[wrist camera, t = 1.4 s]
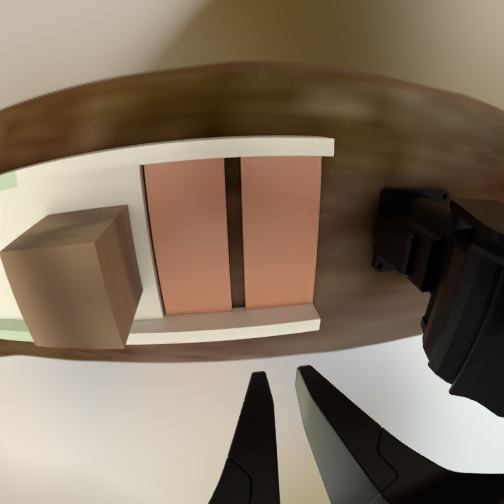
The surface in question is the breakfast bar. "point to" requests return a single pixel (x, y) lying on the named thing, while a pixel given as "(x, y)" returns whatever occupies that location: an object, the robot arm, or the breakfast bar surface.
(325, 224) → the breakfast bar surface
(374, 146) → the breakfast bar surface
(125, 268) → the walnut block
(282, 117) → the breakfast bar surface
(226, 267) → the trap channel
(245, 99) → the breakfast bar surface
